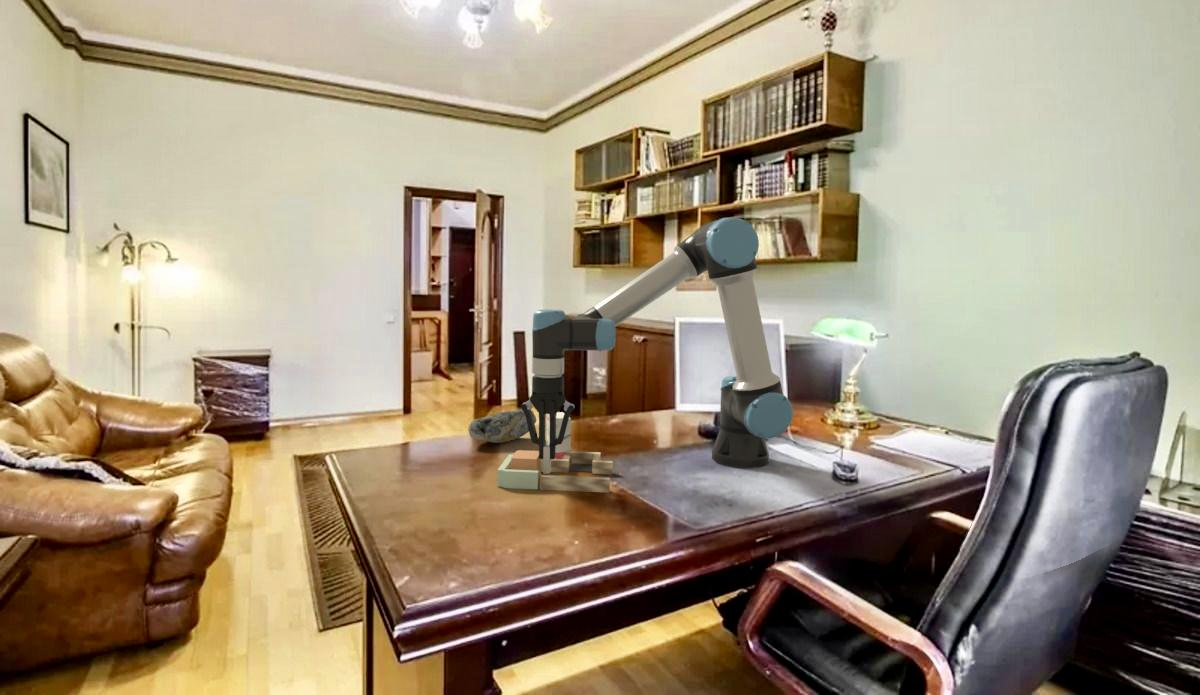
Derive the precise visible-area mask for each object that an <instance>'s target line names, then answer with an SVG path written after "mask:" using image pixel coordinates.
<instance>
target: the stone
mask: <svg viewBox="0 0 1200 695" xmlns="http://www.w3.org/2000/svg"><path fill="white" fill-rule="evenodd" d="M531 411H532V415H533V419H534V423H535V424H536V422H537V417H536V415H535V413H534V411H533V410H531ZM467 431H468V434H469V437H471V439H472V440H475V441H481V442H487V443H488V442H489V443H493V444H495V443H496V444H499V443H500V444H503V443H509V442H511V440H512V441H514V440H518V439H520V438H522V437H523V436H525V435H526V434H528V433H529V429H528V425H527V421H526V416H525V413H524V412H523V410H522V409H521V408H520V409H515V410H505V411H500V412H496V413H494V414H492V415H488V416H485V417H481V418H475V419H473V420H472V421H470V423H469V425H468V430H467Z"/></svg>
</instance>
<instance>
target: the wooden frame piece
mask: <svg viewBox="0 0 1200 695" xmlns="http://www.w3.org/2000/svg"><path fill="white" fill-rule="evenodd" d="M601 454H602V452H598V451H574V450H573V451H572V450H571V451H566V454H565V456H564V458H563V459H551V471H550V473H568V474H569V472H587V473H589V472H591V474H594V475H613V466H614V463H613V460H601ZM610 480H611V478H610V477H596V476H576V475H556V474H555V475H551V474H541V476H540V478H539V490H541V491H542V490H543V491H544V490H545V491H562V492H563V491H564V492H567V491H568V492H586V493H587V492H588V493H590V492H591V493H606V494H607V493H610V490H611V486H610V484H611V481H610Z"/></svg>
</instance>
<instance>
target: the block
mask: <svg viewBox="0 0 1200 695" xmlns="http://www.w3.org/2000/svg"><path fill="white" fill-rule="evenodd" d="M513 454H514V455H513V457H512V458H511V470H536V471H539V479H540V476H541V475H542V472H541V459H540V458H539V450H520V449H519V450H516V451H515V452H514V453H513Z"/></svg>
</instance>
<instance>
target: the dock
mask: <svg viewBox="0 0 1200 695" xmlns="http://www.w3.org/2000/svg"><path fill="white" fill-rule="evenodd" d="M514 454H515V453H509V454H508V455H507V456H506V458H505V459H504V461H503V462H502V463H501V465H500V466H499V467H498V468H497V470H496V471H497V475H496V476H497V479H496V480H497V488H498V487H499V488H503V489H514V490H515V489H517V490H539V489H540V478H539V471H536V470H511V458H512V457H513V455H514ZM542 472H543V459H541V473H542Z"/></svg>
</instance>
